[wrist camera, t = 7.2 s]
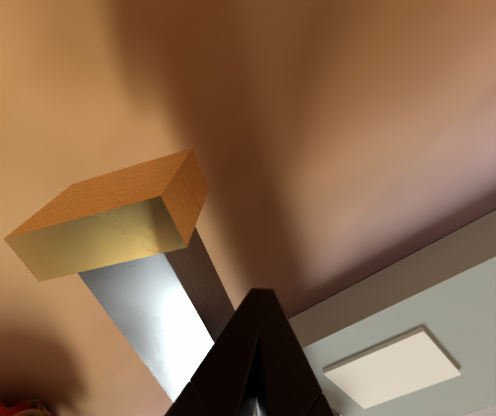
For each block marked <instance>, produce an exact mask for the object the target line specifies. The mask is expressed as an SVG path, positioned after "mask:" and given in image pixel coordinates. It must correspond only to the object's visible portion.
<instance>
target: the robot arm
mask: <svg viewBox="0 0 496 416" xmlns="http://www.w3.org/2000/svg"><path fill="white" fill-rule="evenodd" d="M256 397H257V414H258V416H335V414H334V412H333V411H332V409H331V407H330V404H329V402H328V400H327V398H326V396H325V394H323V390H322V388H321V386H320V384H319V382H318V380H317V378H316V376H315V374H314V372H313V370H312V368H311V366H310V363H309V361H308V359H307V357H306V355H305V353H304V351H303V349H302V347H301V345H300V343H299V341H298V339H297V337H296V334H295V332H294V330H293V328H292V326H291V324H290V322H289V320H288V318H287V316H286V314H285V312H284V310H283V308H282V306H281V303H280V301H279V299H278V297H277V295H276V293H275V291H274V290H273V289H264V288H251V289H250V290H249V292H248V293H247V295H246V296H245V298H244V299H243V301H242V302H241V304H240V305H239V307H238V308H237V310H236V311H235V313H234V314H233V316H232V317H231V319H230V320H229V322H228V323H227V325H226V326H225V327H224V329H223V330H222V332H221V333H220V335H219V336H218V338H217V339H216V341H215V342H214V344H213V345H212V347H211V348H210V350H209V351H208V353H207V354H206V356H205V357H204V359H203V360H202V362H201V363H200V365H199V366H198V368H197V369H196V371H195V372H194V374H193V375H192V377H191V378H190V382H187V384H186V385H185V387H184V388H183V390H182V391H181V393H180V394H179V396H178V397H177V398H176V400H175V401H174V403H173V404H172V405H171V407H170V408H169V410H168V411H167V412H166V414H165V415H164V416H253V415H254V409H255V403H256Z"/></svg>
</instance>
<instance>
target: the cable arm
mask: <svg viewBox="0 0 496 416" xmlns="http://www.w3.org/2000/svg"><path fill="white" fill-rule="evenodd" d="M208 191H209V187H208V185H207V183H206V180H205V178H204V175H203V173H202V171H201V168H200V166H199V164H198V161H197V159H196V156H195V154H194V152H193V149H192V148H191V149H188V150H184V151H181V152H178V153H174V154H171V155H168V156H164V157H161V158H158V159H155V160H151V161H148V162H145V163H141V164H138V165H135V166H131V167H128V168H125V169H121V170H118V171H115V172H111V173H108V174H105V175H101V176H98V177H95V178H92V179H88V180H85V181H82V182H78V183H75V184H72V185H71V186H70V187H69V188H67V189H66V190H65V191H63V192H62V193H61V194H60V195H58V196H57V197H56V198H55V199H53V200H52V201H51V202H50V203H48V204H47V205H46V206H44V207H43V208H42V209H41V210H39V211H38V212H37V213H36V214H34V215H33V216H32V217H31V218H29V219H28V220H27V221H25V222H24V223H23V224H22V225H20V226H19V227H18V228H17V229H15V230H14V231H13V232H12V233H10V234H9V235H8V236H6V237H5V238H4V240H5V241H6V242H7V244H8V245H9V246H10V247H11V248H12V250H13V251H14V252H15V253H16V254H17V256H18V257H19V258H20V259H21V260H22V262H23V263H24V264H25V265H26V266H27V268H28V269H29V270H30V271H31V273H32V274H33V275H34V276H35V277H36V279H37V280H38V281H39V282H40V281H44V280H49V279H53V278H57V277H62V276H66V275H70V274H75V273H78V274H79V276H80V277H81V278H82V280H83V281H84V282H85V284H86V285H87V286H88V288H89V289H90V290H91V292H92V293H93V294H94V296H95V297H96V298H97V300H98V301H99V303H100V304H101V305H102V307H103V308H104V309H105V311H106V312H107V313H108V315H109V316H110V317H111V319H112V320H113V321H114V323H115V324H116V325H117V327H118V328H119V329H120V331H121V332H122V334H123V335H124V336H125V338H126V339H127V340H128V342H129V343H130V344H131V346H132V347H133V348H134V350H135V351H136V352H137V354H138V355H139V356H140V358H141V359H142V360H143V362H144V363H145V365H146V366H147V367H148V369H149V370H150V371H151V373H152V374H153V375H154V377H155V378H156V379H157V381H158V382H159V383H160V385H161V386H162V387H163V389H164V390H165V391H166V393H167V394H168V396H169V397H170V398H171V400H172V401H173V402H174V401H175V400H176V398H177V397H178V396H179V394H180V393H181V391H182V390H183V388H184V387H185V385H186V384H187V382H190V378H191V377H192V375H193V374H194V372H195V371H196V369H197V368H198V366H199V365H200V363H201V362H202V360H203V359H204V357H205V356H206V354H207V353H208V351H209V350H210V348H211V347H212V345H213V344H214V342H215V341H216V339H217V338H218V336H219V335H220V333H221V332H222V330H223V329H224V327H225V326H226V325H227V323H228V322H229V320H230V319H231V317H232V316H233V314H234V313H235V310H234V308H233V305H232V303H231V301H230V299H229V297H228V295H227V293H226V291H225V289H224V286H223V284H222V282H221V280H220V278H219V276H218V274H217V272H216V269H215V267H214V265H213V263H212V261H211V259H210V257H209V255H208V253H207V250H206V248H205V246H204V244H203V242H202V240H201V238H200V236H199V234H198V231H197V229H196V227H195V225H196V222H197V220H198V217H199V215H200V212H201V209H202V207H203V204H204V202H205V199H206V197H207V194H208ZM253 416H258V414H257V397H256V403H255V409H254V415H253Z"/></svg>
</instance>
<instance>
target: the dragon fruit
mask: <svg viewBox="0 0 496 416" xmlns="http://www.w3.org/2000/svg"><path fill="white" fill-rule="evenodd" d="M0 416H52V415H51V414H50V412H49V411H48V410H46V408H45V406H44V405H43V403H42V402H41V401H40V400H37V399H29V400H24V401H22V402H20V403H18V404H16V405H15V406H13V407H11V408H7V407H5V406H4V405H3V404H2V403H1V401H0Z"/></svg>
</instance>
